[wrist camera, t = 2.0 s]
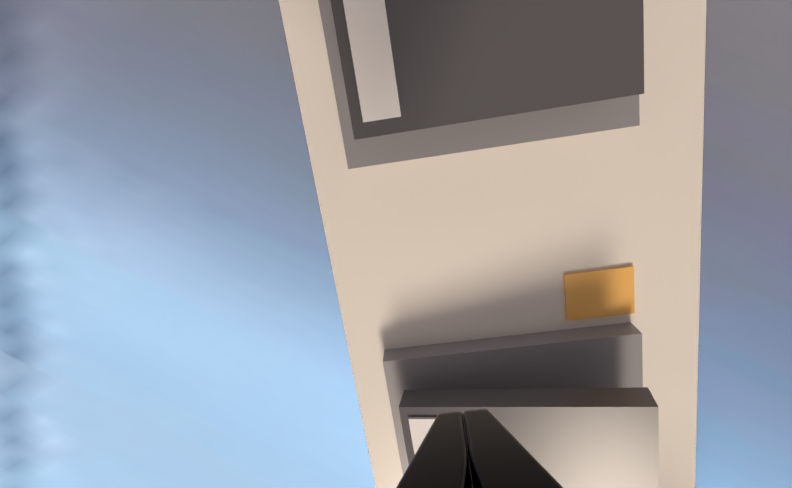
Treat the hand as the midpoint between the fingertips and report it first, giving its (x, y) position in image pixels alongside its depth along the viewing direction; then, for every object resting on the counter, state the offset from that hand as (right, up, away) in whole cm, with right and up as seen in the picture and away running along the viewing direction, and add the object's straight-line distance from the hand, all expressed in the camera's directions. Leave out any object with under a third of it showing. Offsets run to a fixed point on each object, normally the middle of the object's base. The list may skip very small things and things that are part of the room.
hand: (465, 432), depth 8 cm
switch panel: (+3, +5, +10) cm, 11 cm away
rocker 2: (+3, -4, +8) cm, 9 cm away
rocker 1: (+1, +9, +5) cm, 10 cm away
